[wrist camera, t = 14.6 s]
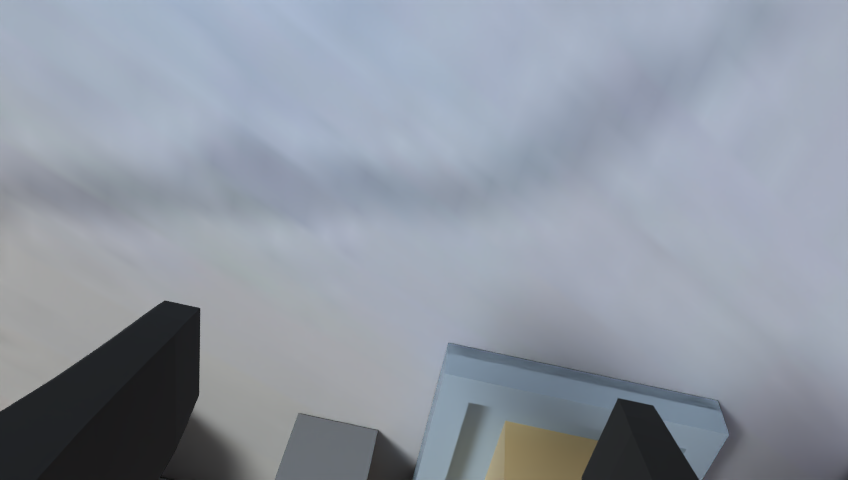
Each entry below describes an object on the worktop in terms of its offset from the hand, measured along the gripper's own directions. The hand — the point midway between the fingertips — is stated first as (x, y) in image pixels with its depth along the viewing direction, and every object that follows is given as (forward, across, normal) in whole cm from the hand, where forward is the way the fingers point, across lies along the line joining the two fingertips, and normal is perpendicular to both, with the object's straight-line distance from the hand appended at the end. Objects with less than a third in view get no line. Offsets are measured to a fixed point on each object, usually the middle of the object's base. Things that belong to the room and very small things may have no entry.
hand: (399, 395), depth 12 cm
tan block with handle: (+9, -6, +14) cm, 18 cm away
